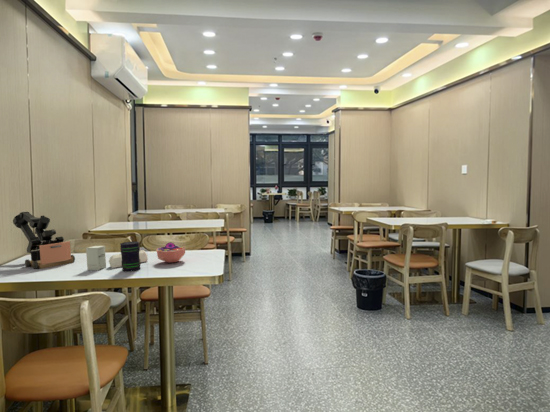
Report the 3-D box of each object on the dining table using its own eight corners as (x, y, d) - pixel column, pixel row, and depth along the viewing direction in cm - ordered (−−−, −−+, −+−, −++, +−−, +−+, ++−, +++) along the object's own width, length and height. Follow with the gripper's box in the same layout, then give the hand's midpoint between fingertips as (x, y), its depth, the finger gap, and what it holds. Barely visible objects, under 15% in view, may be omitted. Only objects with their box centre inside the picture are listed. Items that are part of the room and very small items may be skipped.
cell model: (155, 266, 235) (154, 246, 234) (157, 260, 254) (156, 241, 253) (185, 264, 238) (184, 244, 237) (186, 257, 258) (185, 239, 257)
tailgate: (40, 264, 244) (39, 245, 243) (70, 259, 257) (68, 241, 256) (42, 264, 242) (40, 245, 242) (71, 259, 256) (70, 241, 255)
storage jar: (140, 267, 236) (138, 240, 235) (141, 270, 226) (139, 243, 225) (121, 269, 232) (119, 242, 231) (121, 272, 223) (119, 245, 222)
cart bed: (24, 266, 252) (23, 259, 252) (62, 259, 270) (62, 252, 270) (37, 269, 241) (36, 261, 241) (76, 262, 259) (75, 255, 259)
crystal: (141, 253, 258) (104, 260, 240) (147, 248, 253) (109, 255, 236) (145, 264, 256) (108, 272, 238) (151, 259, 251) (113, 267, 233)
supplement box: (98, 270, 232) (97, 247, 231) (87, 270, 233) (85, 247, 232) (106, 267, 239) (105, 245, 238) (95, 267, 240) (93, 245, 239)
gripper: (29, 227, 248) (39, 246, 242) (61, 223, 262) (71, 242, 256) (25, 239, 253) (34, 259, 247) (56, 235, 268) (66, 253, 262)
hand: (52, 253), depth 253 cm, fingers closed
